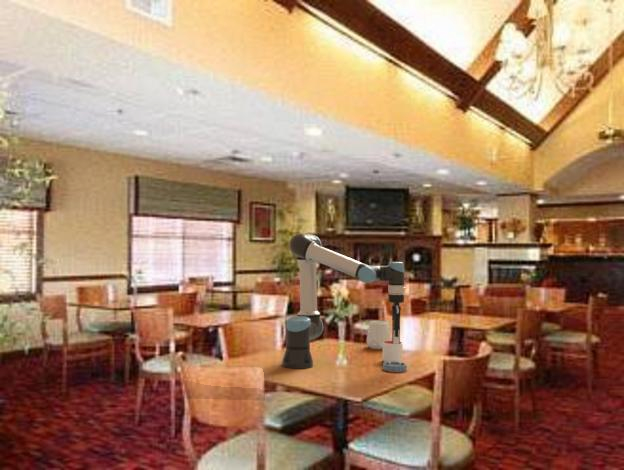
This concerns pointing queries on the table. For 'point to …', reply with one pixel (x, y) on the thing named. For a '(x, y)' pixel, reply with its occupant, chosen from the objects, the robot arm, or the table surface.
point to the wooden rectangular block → (392, 332)
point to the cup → (392, 352)
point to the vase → (378, 334)
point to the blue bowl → (394, 366)
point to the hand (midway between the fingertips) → (395, 342)
